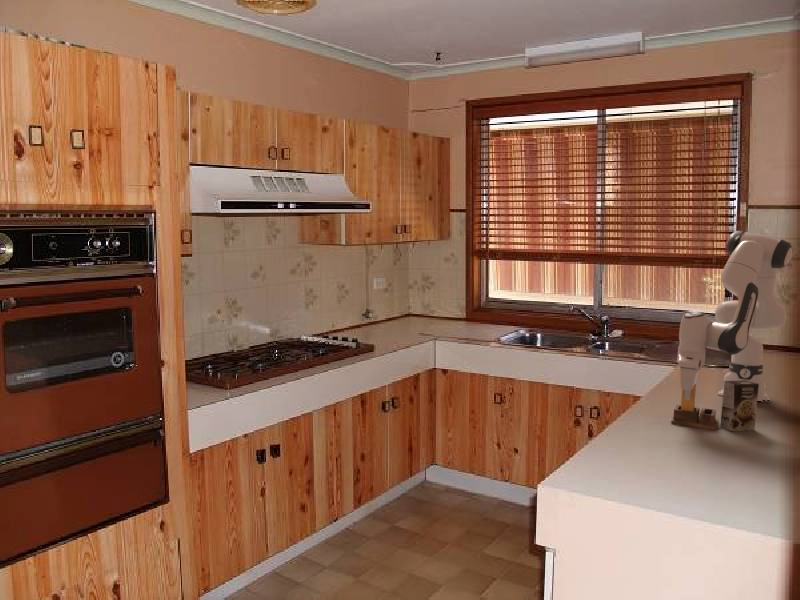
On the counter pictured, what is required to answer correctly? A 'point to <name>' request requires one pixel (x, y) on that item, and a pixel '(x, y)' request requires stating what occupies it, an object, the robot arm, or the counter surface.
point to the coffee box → (739, 405)
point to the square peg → (688, 401)
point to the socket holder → (695, 418)
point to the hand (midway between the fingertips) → (688, 397)
